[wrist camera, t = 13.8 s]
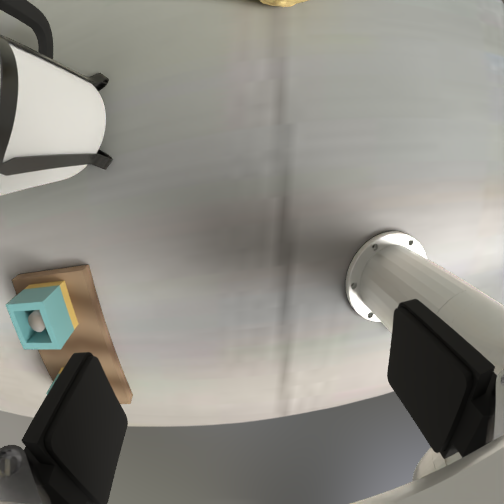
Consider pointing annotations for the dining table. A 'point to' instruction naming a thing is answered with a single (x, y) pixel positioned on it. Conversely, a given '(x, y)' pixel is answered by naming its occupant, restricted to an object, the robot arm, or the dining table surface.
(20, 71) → the coffee press
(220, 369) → the dining table surface
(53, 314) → the seated sleeve
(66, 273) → the pin board
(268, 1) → the sculpture
